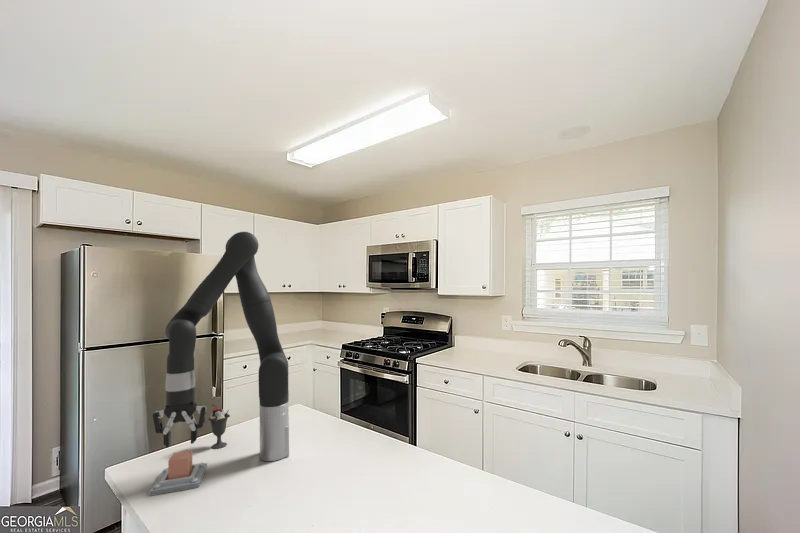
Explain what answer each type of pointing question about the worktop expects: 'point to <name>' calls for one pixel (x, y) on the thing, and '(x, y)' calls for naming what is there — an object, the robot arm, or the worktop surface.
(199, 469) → the plate
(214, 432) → the sundae
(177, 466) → the block
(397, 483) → the worktop surface
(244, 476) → the worktop surface
